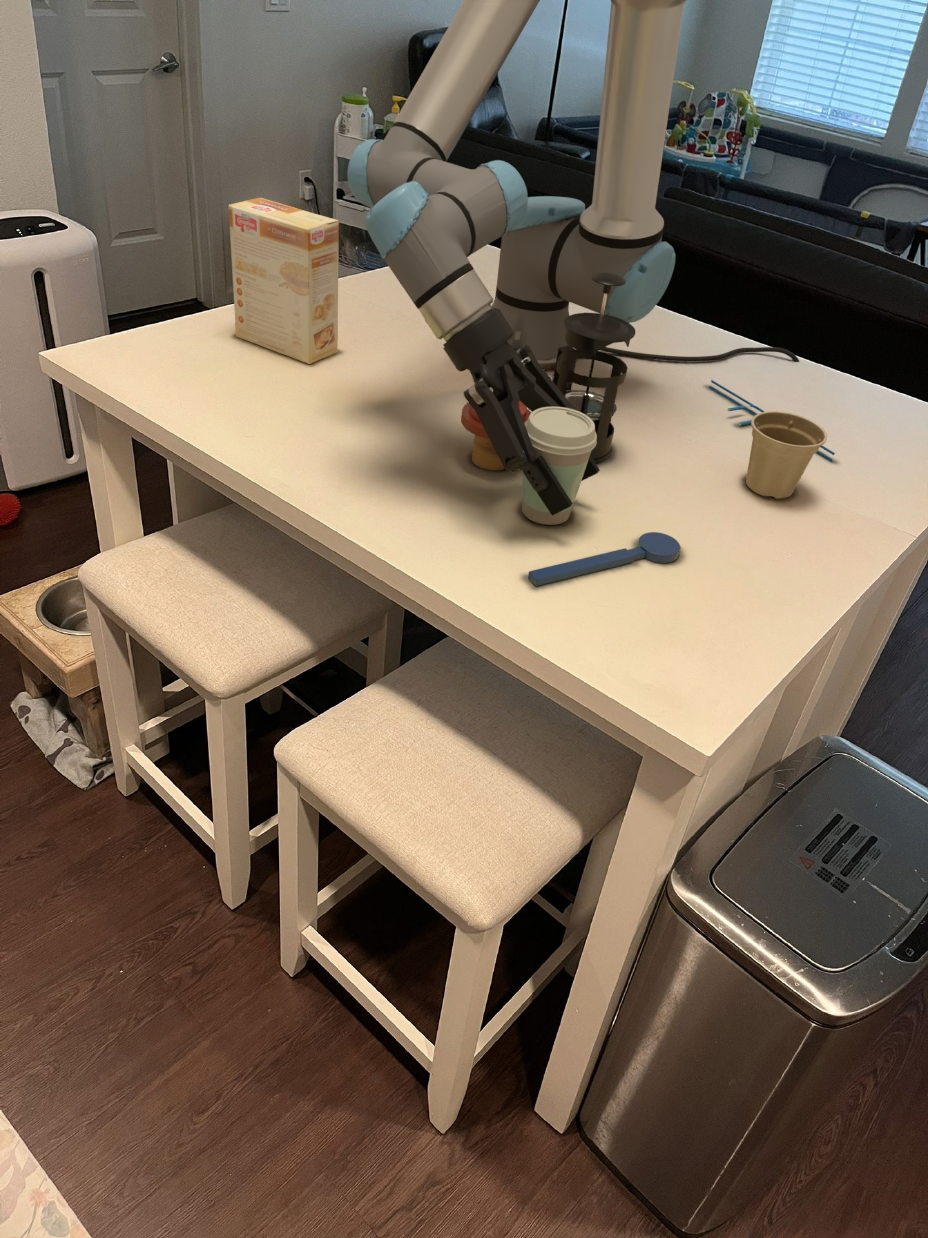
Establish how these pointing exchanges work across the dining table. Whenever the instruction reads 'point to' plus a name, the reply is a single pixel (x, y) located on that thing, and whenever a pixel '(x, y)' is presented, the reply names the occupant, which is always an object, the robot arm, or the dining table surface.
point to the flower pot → (781, 451)
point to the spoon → (611, 559)
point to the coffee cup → (558, 456)
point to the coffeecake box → (285, 278)
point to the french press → (587, 339)
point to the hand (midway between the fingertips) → (576, 492)
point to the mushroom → (484, 438)
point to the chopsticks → (753, 412)
